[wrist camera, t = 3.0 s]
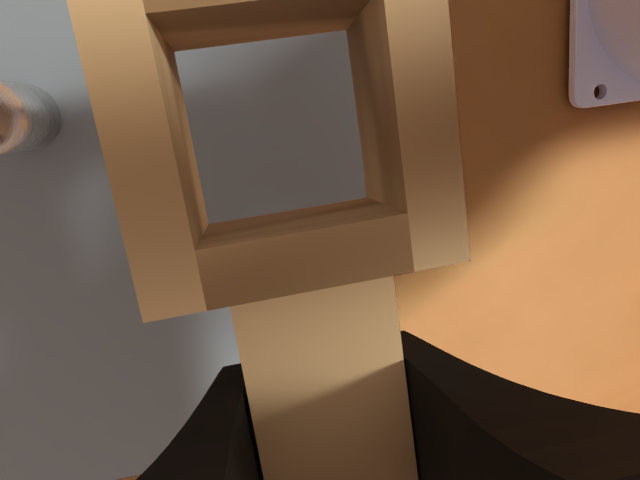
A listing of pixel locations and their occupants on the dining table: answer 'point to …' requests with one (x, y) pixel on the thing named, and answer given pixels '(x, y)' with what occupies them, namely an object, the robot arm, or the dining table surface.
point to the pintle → (26, 117)
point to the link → (290, 217)
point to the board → (109, 250)
